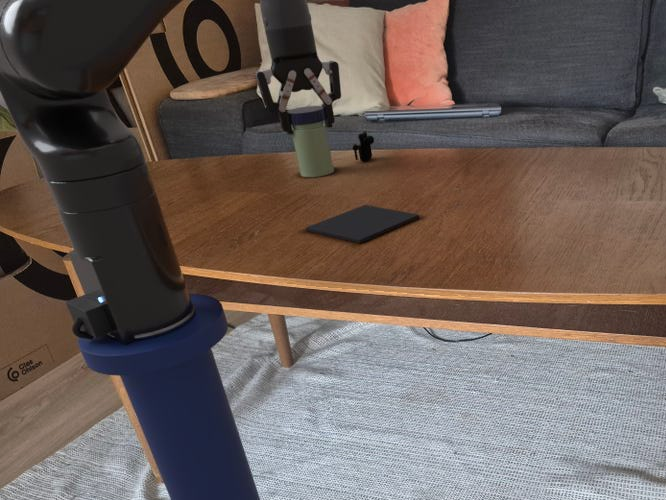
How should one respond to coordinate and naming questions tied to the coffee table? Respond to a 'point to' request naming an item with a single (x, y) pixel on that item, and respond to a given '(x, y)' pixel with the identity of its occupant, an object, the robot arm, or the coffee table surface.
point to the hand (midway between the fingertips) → (309, 130)
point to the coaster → (362, 223)
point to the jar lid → (307, 115)
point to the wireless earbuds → (364, 147)
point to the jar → (312, 149)
